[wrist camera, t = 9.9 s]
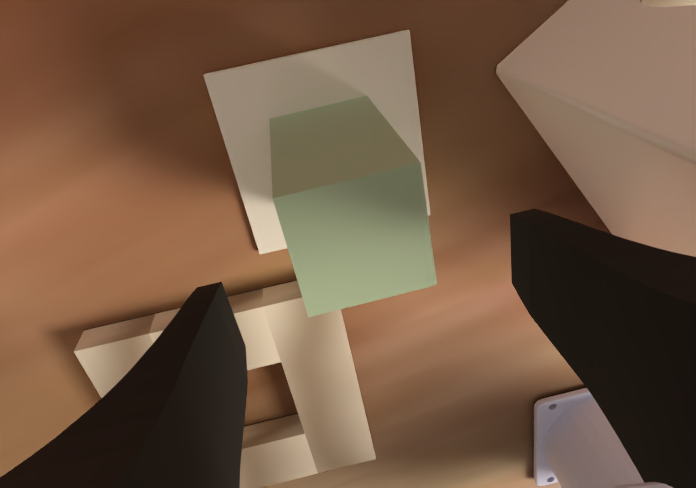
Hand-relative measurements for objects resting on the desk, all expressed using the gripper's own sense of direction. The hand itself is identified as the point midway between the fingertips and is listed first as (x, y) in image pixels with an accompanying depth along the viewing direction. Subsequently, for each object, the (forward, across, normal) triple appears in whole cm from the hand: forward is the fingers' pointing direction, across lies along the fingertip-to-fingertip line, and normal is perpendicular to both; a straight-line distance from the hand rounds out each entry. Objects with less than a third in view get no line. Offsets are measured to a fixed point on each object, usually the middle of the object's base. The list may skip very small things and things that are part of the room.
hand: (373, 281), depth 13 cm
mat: (+10, 0, 0) cm, 10 cm away
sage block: (+10, 0, 0) cm, 10 cm away
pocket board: (+10, +7, +12) cm, 17 cm away
